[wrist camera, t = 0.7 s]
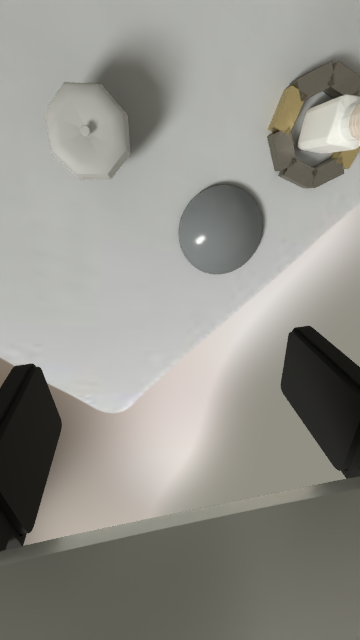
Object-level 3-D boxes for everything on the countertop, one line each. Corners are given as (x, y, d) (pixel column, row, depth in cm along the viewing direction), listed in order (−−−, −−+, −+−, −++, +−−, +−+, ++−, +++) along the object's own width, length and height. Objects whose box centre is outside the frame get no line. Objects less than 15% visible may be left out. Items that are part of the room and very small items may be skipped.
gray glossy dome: (198, 169, 31) (199, 169, 31) (275, 204, 34) (277, 205, 34) (166, 258, 36) (167, 259, 35) (238, 282, 39) (239, 283, 38)
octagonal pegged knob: (64, 74, 26) (44, 45, 20) (142, 116, 28) (145, 100, 22) (48, 163, 29) (27, 159, 23) (120, 194, 31) (117, 197, 25)
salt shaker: (304, 107, 30) (370, 80, 22) (335, 114, 31) (410, 91, 23) (293, 149, 32) (350, 139, 24) (323, 155, 33) (388, 146, 24)
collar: (302, 48, 28) (310, 41, 26) (377, 100, 31) (388, 96, 30) (253, 163, 32) (258, 162, 31) (324, 198, 35) (331, 199, 34)
